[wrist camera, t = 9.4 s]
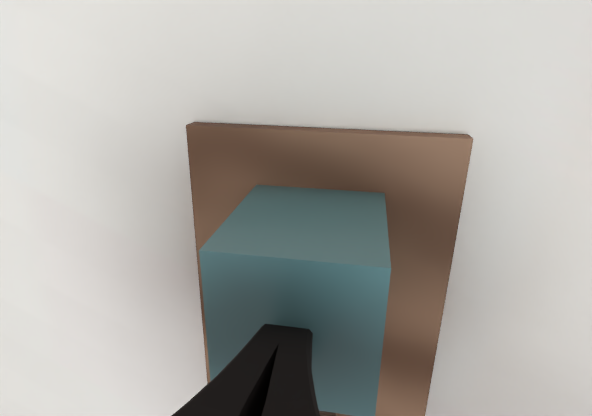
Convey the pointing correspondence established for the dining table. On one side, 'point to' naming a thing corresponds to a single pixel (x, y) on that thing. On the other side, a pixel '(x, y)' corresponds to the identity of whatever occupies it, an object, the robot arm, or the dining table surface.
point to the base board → (366, 178)
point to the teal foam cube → (304, 284)
